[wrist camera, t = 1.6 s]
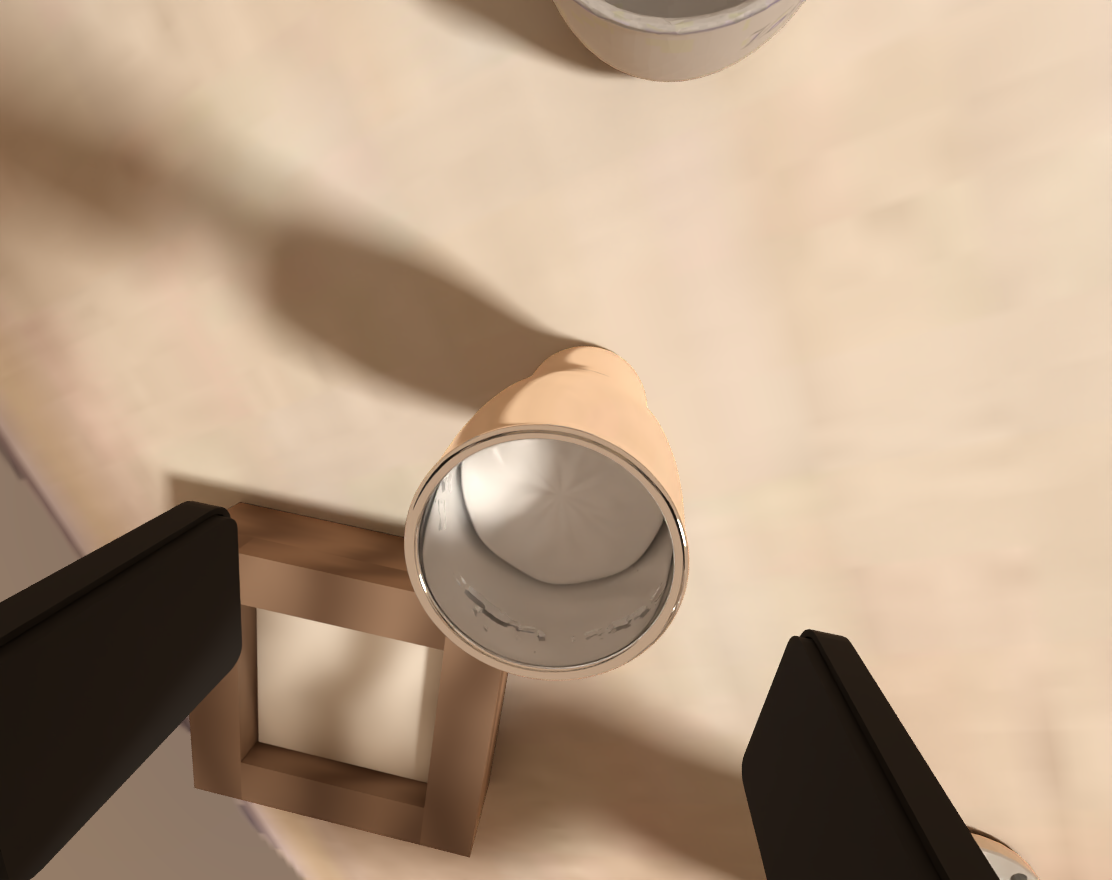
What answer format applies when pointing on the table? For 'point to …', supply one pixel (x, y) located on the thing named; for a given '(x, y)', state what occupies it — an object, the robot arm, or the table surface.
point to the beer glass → (554, 524)
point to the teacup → (674, 33)
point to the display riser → (346, 690)
